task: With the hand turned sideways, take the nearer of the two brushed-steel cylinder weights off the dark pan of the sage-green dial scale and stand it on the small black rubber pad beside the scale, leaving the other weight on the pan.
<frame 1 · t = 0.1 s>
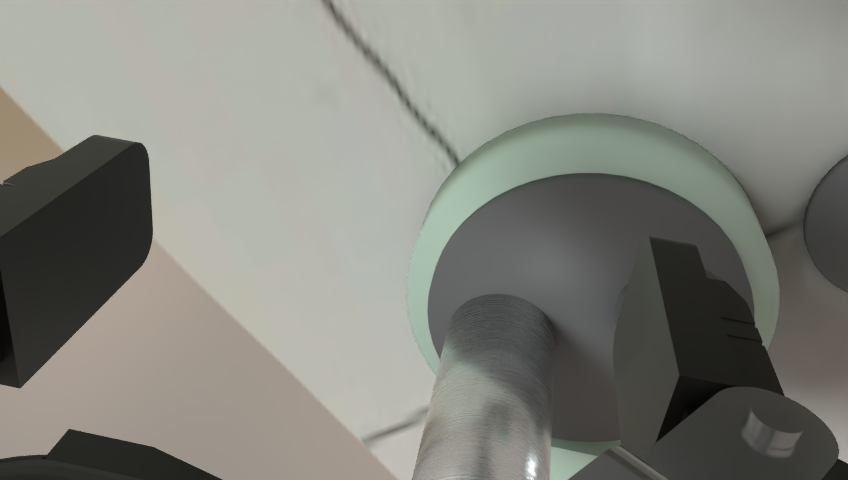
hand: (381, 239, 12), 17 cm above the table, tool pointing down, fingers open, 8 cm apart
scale: (583, 271, 32), on the table
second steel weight: (500, 338, 30), point 4 cm above the table, touching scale
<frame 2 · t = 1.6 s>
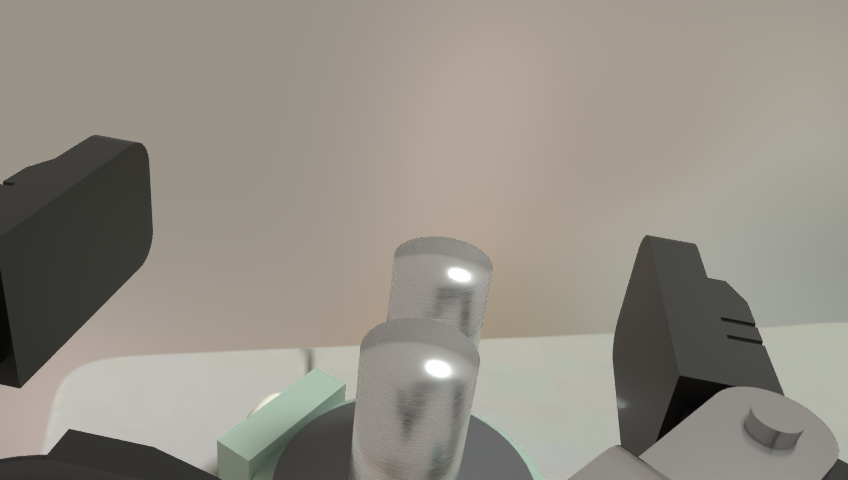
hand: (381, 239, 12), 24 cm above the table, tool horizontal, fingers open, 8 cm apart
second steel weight: (418, 436, 37), point 4 cm above the table, touching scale
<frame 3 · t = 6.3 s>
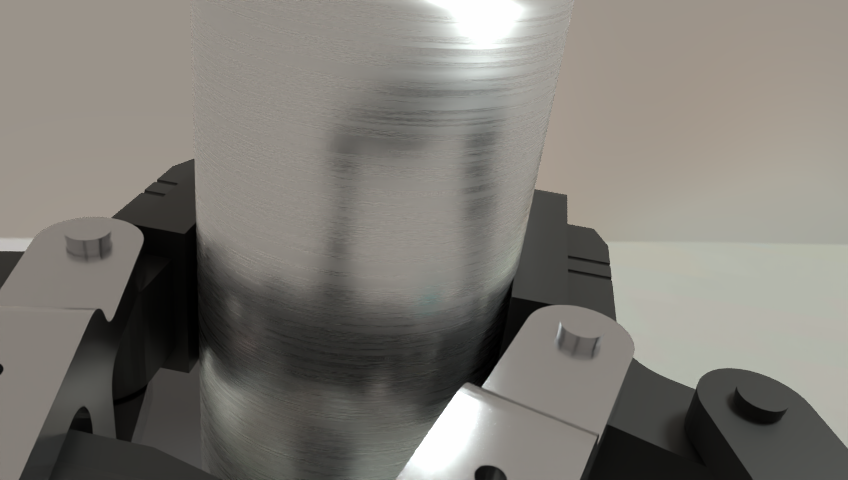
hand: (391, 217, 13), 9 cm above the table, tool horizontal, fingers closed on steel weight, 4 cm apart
when the fingers open (7 cm above the table, at t = 11.3 s): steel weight drops 1 cm, resting on rubber pad.
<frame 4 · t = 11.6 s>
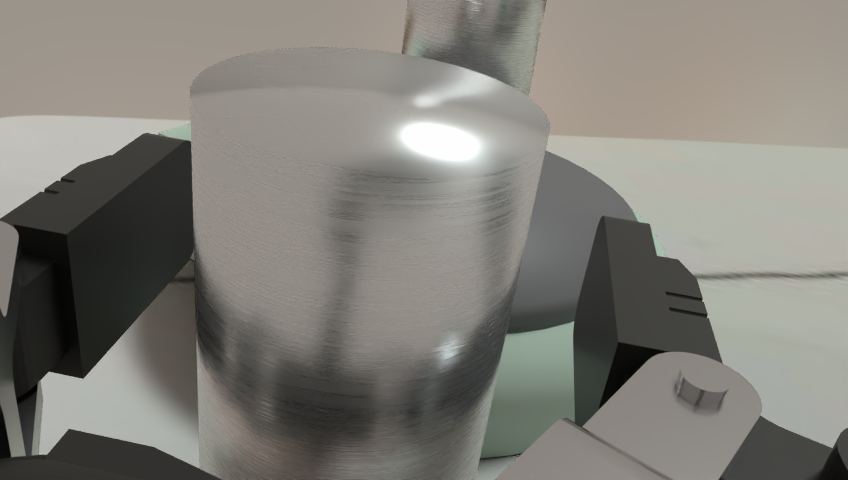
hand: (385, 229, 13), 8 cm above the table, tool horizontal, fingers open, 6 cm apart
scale: (424, 299, 25), on the table
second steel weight: (453, 154, 26), point 4 cm above the table, touching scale
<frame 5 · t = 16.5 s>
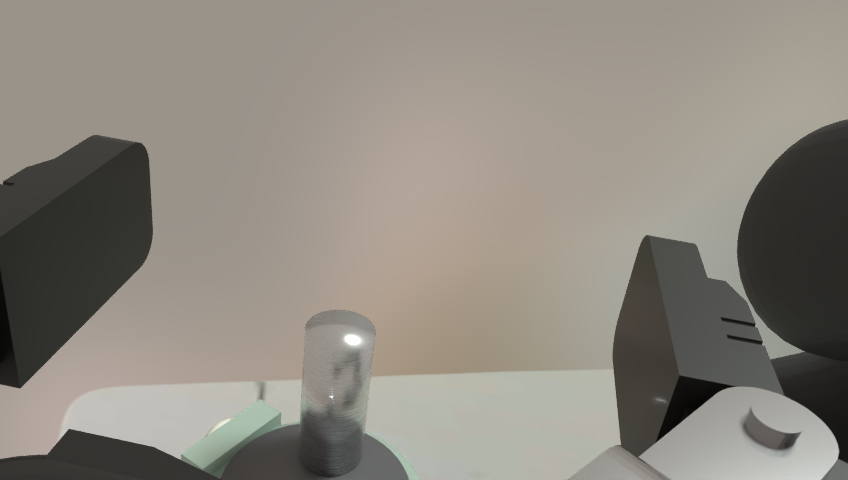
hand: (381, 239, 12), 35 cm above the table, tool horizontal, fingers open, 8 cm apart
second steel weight: (330, 452, 51), point 4 cm above the table, touching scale
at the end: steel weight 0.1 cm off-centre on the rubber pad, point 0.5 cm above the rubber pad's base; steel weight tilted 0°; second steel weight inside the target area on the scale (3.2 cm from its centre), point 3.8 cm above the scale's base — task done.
